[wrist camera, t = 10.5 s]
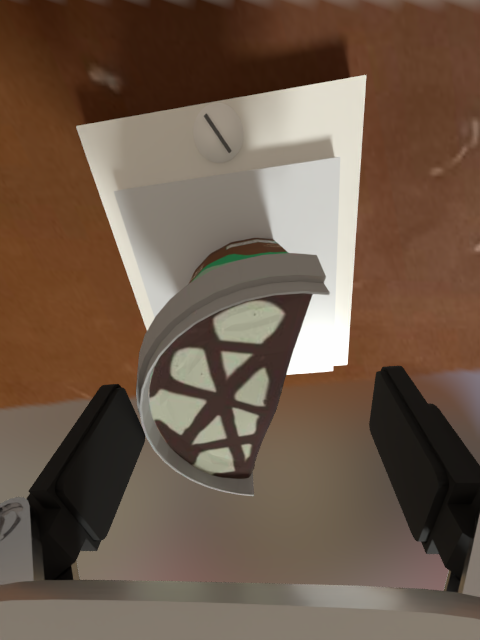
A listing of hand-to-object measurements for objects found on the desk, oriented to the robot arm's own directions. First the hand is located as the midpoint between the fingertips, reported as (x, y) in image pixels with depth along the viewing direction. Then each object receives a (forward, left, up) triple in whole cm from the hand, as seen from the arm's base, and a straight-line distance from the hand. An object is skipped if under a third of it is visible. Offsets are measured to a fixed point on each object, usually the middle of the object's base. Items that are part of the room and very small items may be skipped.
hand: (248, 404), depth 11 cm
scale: (+1, -1, -14) cm, 14 cm away
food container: (+2, 0, -10) cm, 10 cm away
